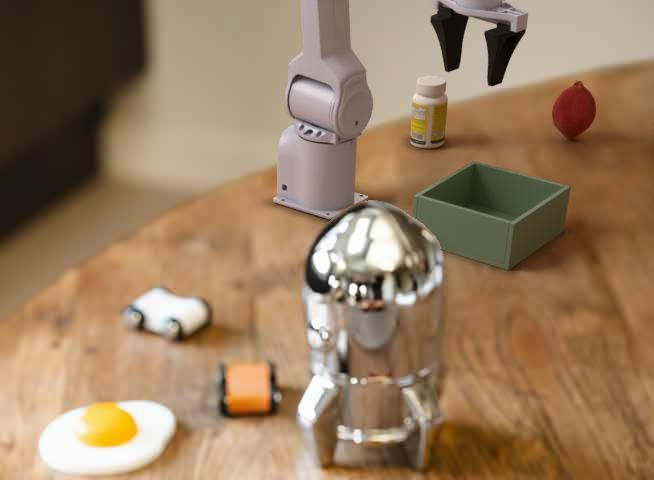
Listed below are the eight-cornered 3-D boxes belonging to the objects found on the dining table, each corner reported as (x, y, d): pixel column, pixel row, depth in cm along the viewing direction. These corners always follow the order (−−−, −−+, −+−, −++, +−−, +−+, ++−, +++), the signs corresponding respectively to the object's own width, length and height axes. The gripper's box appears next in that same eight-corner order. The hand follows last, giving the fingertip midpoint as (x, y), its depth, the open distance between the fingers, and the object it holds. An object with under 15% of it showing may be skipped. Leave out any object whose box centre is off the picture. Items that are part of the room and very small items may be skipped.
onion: (547, 130, 169) (555, 71, 164) (589, 132, 169) (599, 72, 163) (549, 146, 165) (558, 85, 160) (592, 147, 164) (603, 87, 159)
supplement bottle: (443, 137, 168) (449, 74, 163) (444, 149, 165) (450, 86, 159) (409, 136, 169) (413, 74, 163) (409, 149, 165) (414, 85, 160)
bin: (410, 240, 143) (413, 195, 139) (468, 204, 151) (473, 160, 147) (508, 270, 137) (514, 224, 133) (563, 231, 144) (571, 186, 141)
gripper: (549, -32, 147) (536, 82, 156) (461, -53, 155) (453, 56, 164) (510, -19, 144) (499, 96, 153) (422, -42, 152) (417, 69, 161)
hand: (473, 76), depth 158 cm, fingers open, 7 cm apart
